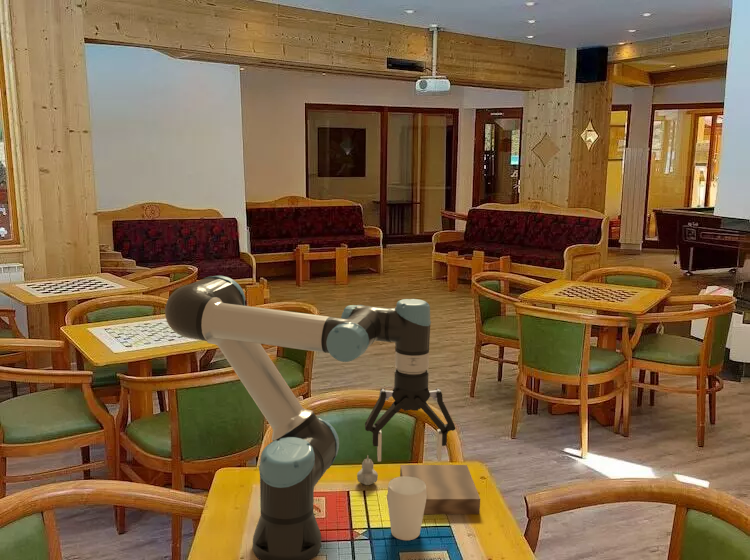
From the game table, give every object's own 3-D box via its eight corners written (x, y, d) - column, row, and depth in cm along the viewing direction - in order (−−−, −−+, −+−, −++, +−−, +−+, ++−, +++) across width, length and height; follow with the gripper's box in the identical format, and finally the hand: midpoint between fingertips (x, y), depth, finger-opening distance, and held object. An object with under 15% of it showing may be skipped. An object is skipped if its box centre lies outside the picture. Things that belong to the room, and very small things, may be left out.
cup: (422, 546, 153) (424, 497, 150) (382, 540, 154) (384, 492, 152) (427, 525, 161) (429, 478, 159) (389, 520, 163) (391, 473, 161)
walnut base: (406, 514, 166) (407, 499, 165) (400, 478, 183) (400, 464, 183) (479, 513, 167) (480, 499, 166) (466, 478, 184) (466, 464, 184)
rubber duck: (377, 478, 183) (377, 450, 182) (377, 490, 177) (378, 462, 175) (357, 478, 183) (357, 450, 182) (357, 490, 177) (357, 462, 175)
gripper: (355, 374, 146) (354, 466, 150) (470, 375, 147) (466, 465, 151) (354, 363, 153) (353, 451, 157) (464, 364, 154) (460, 451, 159)
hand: (409, 458), depth 154 cm, fingers open, 13 cm apart
